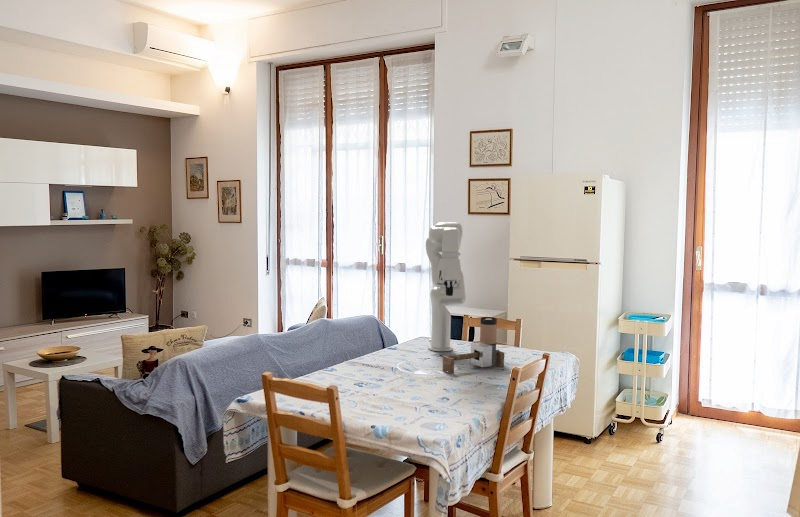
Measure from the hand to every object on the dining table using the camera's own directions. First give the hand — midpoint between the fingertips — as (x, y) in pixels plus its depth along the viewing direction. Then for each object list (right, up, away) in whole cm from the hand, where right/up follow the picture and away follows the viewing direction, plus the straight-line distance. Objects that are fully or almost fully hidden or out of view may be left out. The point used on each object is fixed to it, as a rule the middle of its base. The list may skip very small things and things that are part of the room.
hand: (449, 295), depth 308 cm
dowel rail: (+10, -32, -8) cm, 35 cm away
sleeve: (+14, -31, -7) cm, 34 cm away
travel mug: (+19, -31, +8) cm, 37 cm away
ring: (+17, -30, -5) cm, 35 cm away
